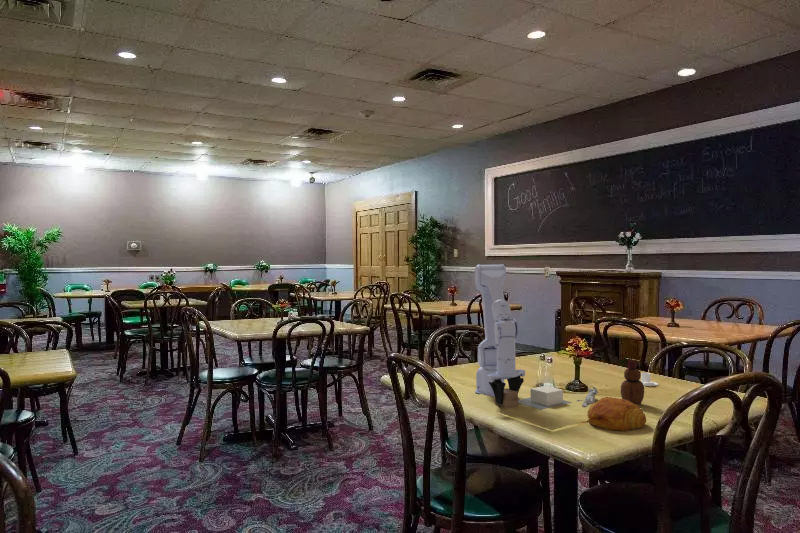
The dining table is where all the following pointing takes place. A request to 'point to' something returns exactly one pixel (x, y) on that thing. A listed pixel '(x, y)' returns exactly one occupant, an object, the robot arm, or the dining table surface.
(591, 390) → the soldier figure
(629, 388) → the wooden figurine
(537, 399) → the cream block
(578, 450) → the dining table surface
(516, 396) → the walnut cube
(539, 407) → the slate board
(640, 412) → the croissant
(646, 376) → the teacup and saucer
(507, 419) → the dining table surface
